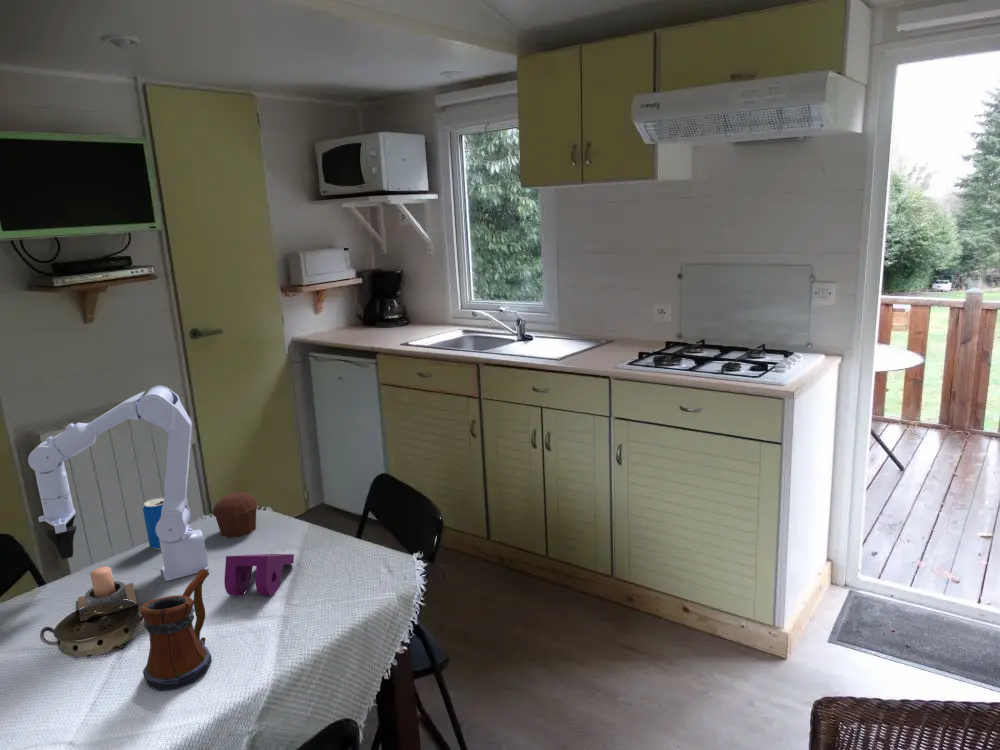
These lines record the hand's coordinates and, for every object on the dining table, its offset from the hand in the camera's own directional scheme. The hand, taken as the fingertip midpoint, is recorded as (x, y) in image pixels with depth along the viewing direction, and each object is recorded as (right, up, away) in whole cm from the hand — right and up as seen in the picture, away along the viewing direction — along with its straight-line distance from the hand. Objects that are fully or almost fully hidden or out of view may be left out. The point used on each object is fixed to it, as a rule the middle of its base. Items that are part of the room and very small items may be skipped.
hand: (67, 551), depth 162 cm
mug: (+40, -14, -28) cm, 50 cm away
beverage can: (+12, -4, +22) cm, 25 cm away
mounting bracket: (+45, -7, +1) cm, 45 cm away
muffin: (+28, -2, +28) cm, 40 cm away
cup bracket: (+12, -10, -5) cm, 16 cm away
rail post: (+12, -10, -5) cm, 16 cm away
